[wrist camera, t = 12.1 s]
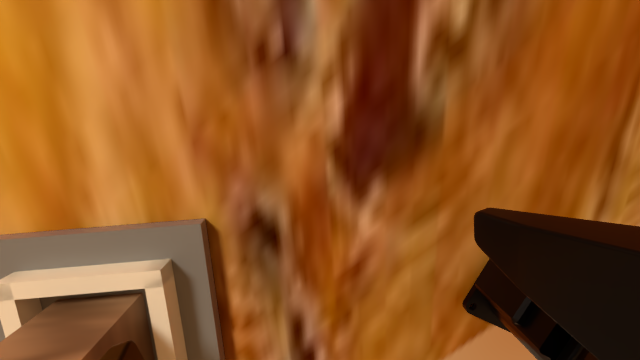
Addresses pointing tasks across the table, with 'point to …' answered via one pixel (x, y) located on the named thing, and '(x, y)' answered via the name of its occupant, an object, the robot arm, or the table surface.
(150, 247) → the socket plate
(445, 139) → the table surface
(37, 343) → the block
